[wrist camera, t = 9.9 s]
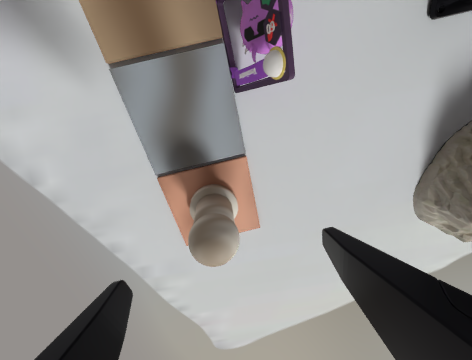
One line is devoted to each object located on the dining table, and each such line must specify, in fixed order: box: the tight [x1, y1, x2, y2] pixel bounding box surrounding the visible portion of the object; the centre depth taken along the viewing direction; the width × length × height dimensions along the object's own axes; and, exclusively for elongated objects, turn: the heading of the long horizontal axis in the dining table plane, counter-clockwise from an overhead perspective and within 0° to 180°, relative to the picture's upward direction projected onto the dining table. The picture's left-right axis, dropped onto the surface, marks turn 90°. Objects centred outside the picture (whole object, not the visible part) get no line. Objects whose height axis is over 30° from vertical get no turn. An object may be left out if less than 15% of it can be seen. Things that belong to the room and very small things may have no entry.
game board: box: [79, 0, 260, 246], centre depth 14 cm, size 9×36×1 cm, turn 12°
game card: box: [216, 0, 295, 93], centre depth 11 cm, size 7×5×9 cm
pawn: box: [188, 184, 240, 267], centre depth 16 cm, size 5×5×7 cm
